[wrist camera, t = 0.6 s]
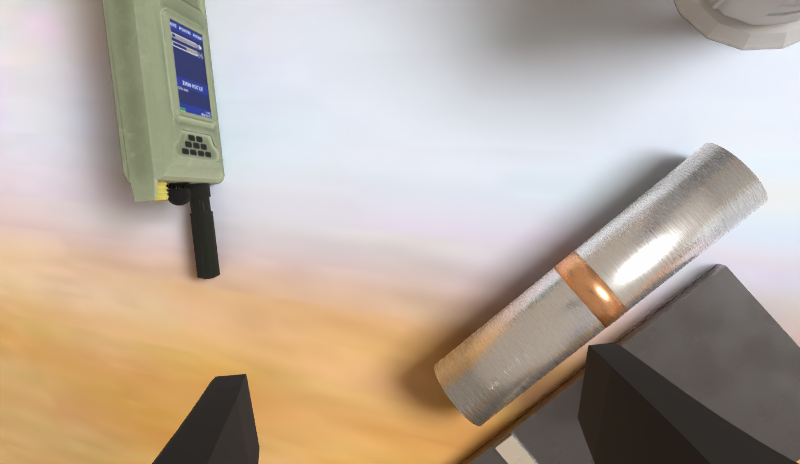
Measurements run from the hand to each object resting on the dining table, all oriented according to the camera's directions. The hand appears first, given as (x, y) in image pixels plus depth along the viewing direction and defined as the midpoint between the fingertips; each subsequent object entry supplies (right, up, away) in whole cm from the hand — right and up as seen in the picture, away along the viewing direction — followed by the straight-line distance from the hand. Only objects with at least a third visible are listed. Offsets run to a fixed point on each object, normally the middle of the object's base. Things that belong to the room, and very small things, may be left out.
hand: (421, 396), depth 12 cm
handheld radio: (-13, +13, +23) cm, 30 cm away
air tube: (+9, +1, +20) cm, 22 cm away
